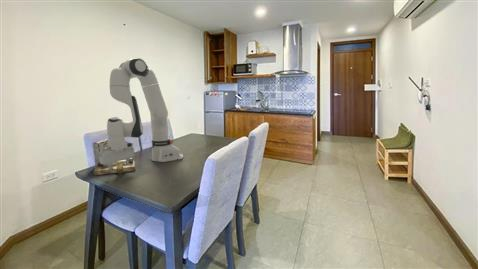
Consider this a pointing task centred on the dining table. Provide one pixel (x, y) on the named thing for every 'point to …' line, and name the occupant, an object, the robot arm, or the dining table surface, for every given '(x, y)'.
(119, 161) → the tong arm
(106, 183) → the dining table surface
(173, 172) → the dining table surface
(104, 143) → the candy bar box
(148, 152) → the dining table surface
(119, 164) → the brass pin
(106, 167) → the tong rest
